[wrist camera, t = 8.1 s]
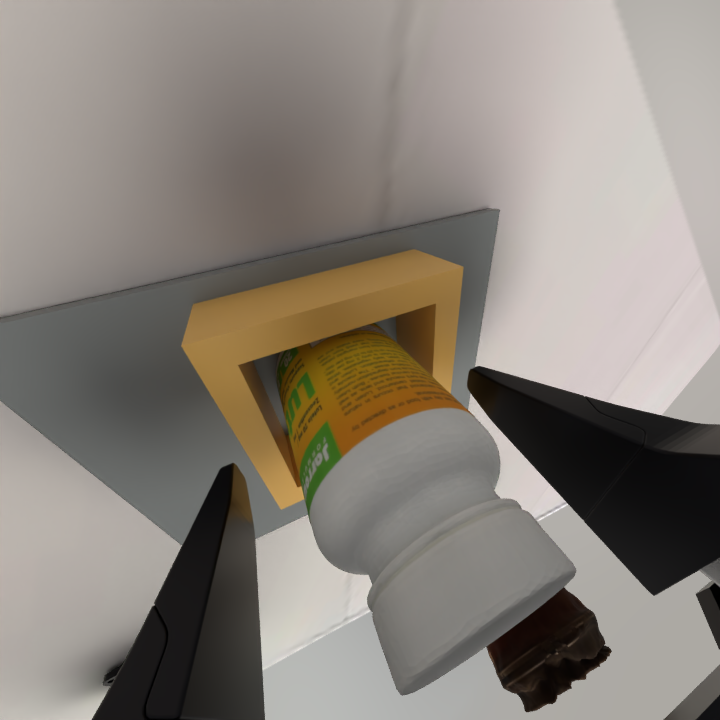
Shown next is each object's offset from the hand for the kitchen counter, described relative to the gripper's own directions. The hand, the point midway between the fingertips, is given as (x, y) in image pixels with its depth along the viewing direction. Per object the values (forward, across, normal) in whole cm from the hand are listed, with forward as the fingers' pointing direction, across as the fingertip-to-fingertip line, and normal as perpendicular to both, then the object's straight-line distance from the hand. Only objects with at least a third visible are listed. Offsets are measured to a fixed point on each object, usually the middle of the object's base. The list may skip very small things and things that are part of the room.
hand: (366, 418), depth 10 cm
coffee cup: (+4, -9, +23) cm, 25 cm away
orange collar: (+4, 0, 0) cm, 4 cm away
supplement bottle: (+4, 0, 0) cm, 4 cm away
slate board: (+4, +1, +3) cm, 5 cm away
